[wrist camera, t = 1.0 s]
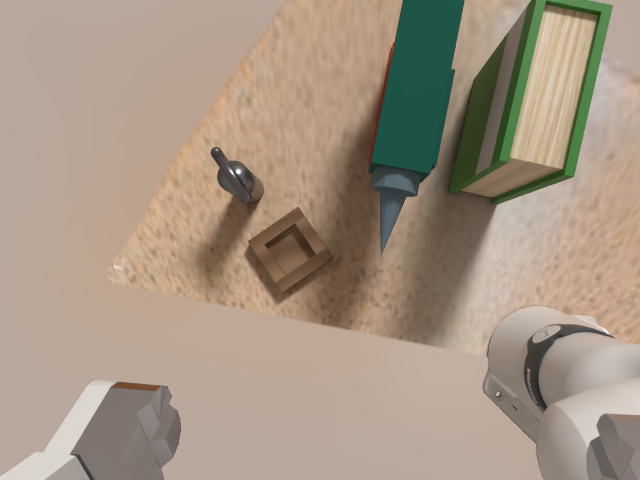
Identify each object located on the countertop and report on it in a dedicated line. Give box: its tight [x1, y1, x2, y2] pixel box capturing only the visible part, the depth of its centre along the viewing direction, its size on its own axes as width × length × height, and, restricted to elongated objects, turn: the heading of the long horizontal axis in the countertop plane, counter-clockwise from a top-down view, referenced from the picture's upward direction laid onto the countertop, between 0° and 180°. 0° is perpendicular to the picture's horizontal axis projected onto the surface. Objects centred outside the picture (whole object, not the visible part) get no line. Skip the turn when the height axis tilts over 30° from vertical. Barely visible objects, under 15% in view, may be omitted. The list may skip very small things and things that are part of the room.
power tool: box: [368, 0, 465, 254], centre depth 63 cm, size 32×7×20 cm, turn 168°
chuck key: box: [211, 147, 264, 204], centre depth 67 cm, size 8×4×13 cm, turn 34°
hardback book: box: [448, 0, 613, 204], centre depth 61 cm, size 18×7×24 cm, turn 166°
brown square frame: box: [248, 207, 333, 292], centre depth 72 cm, size 9×9×2 cm
